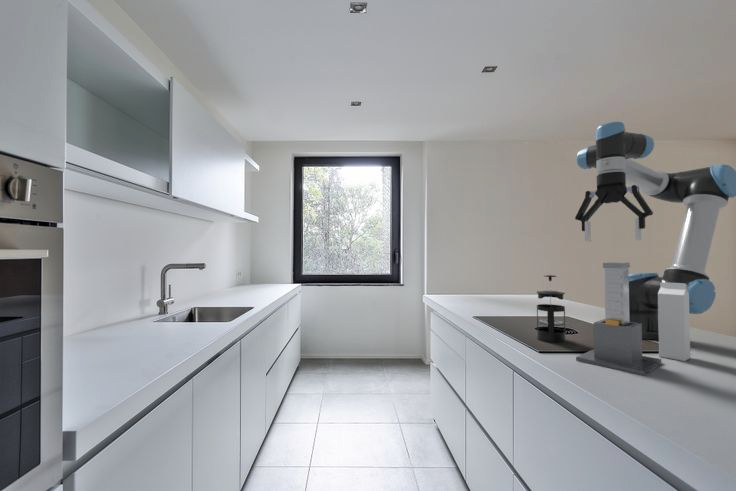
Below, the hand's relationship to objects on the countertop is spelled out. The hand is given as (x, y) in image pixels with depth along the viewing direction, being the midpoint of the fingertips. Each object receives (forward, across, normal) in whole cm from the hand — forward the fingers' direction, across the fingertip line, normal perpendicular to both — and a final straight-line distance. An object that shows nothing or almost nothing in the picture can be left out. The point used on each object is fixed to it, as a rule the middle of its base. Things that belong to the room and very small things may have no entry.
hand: (612, 240), depth 111 cm
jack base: (+35, +4, -10) cm, 36 cm away
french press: (+35, -20, +2) cm, 40 cm away
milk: (+35, +13, +8) cm, 38 cm away
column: (+27, +4, -10) cm, 29 cm away
